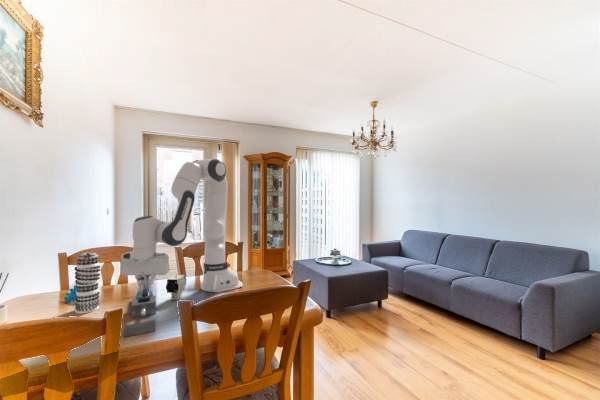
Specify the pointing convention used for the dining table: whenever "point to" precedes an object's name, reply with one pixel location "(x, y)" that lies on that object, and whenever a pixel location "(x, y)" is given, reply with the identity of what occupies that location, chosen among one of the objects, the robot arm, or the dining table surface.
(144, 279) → the chuck key
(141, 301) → the grey base teal knob
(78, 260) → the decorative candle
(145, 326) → the mat
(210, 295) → the dining table surface
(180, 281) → the pneumatic valve
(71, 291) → the gear
